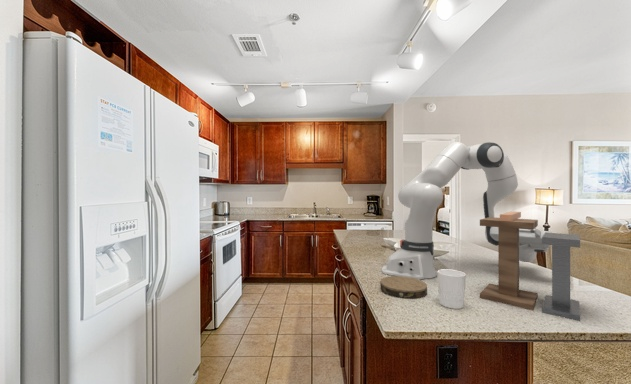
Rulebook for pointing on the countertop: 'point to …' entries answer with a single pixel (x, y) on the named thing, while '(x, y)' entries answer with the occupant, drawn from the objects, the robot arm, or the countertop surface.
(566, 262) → the grey stand
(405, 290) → the round wood slice
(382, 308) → the countertop surface
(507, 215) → the terracotta bar
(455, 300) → the white cup
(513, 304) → the walnut stand
